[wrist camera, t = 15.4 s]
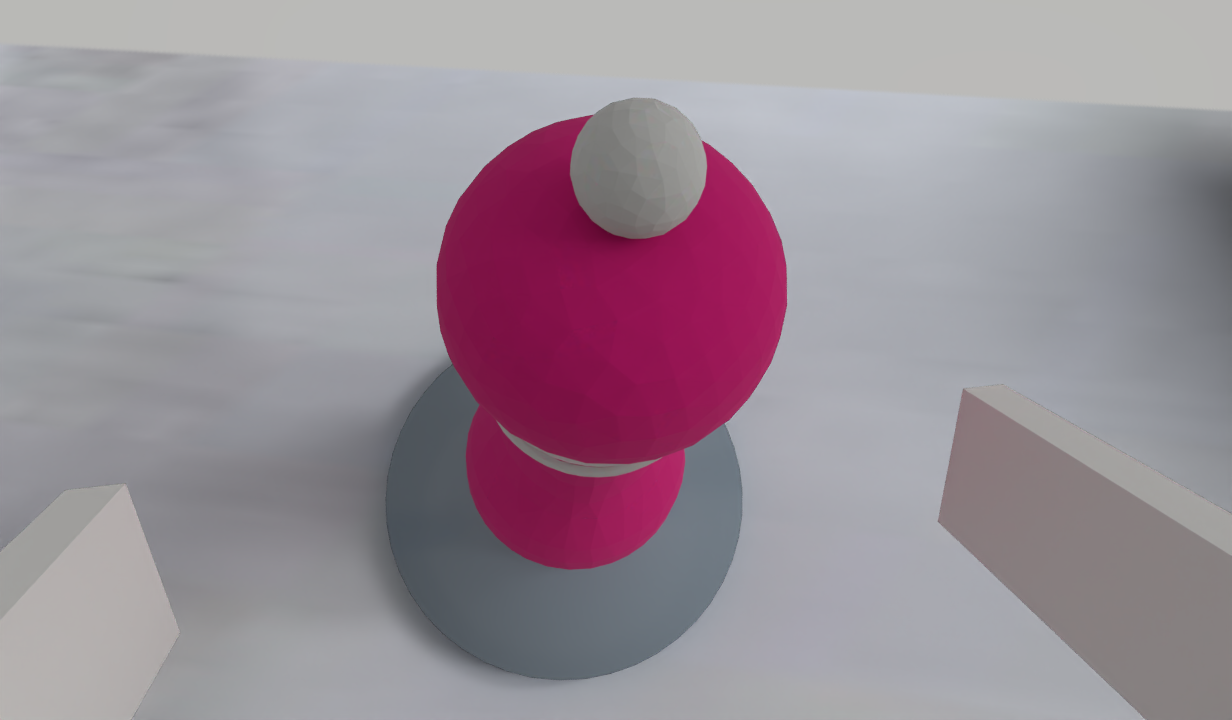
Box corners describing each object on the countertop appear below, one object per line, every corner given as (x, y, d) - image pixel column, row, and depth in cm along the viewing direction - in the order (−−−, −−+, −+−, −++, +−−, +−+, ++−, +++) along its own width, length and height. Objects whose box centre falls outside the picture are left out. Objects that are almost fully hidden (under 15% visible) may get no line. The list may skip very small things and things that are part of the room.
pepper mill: (566, 623, 24) (661, 574, 6) (437, 481, 26) (190, 85, 7) (696, 487, 27) (1049, 152, 8) (572, 364, 28) (641, -148, 10)
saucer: (632, 288, 31) (635, 277, 30) (799, 561, 27) (809, 559, 26) (338, 416, 27) (331, 408, 26) (481, 758, 23) (479, 763, 22)
